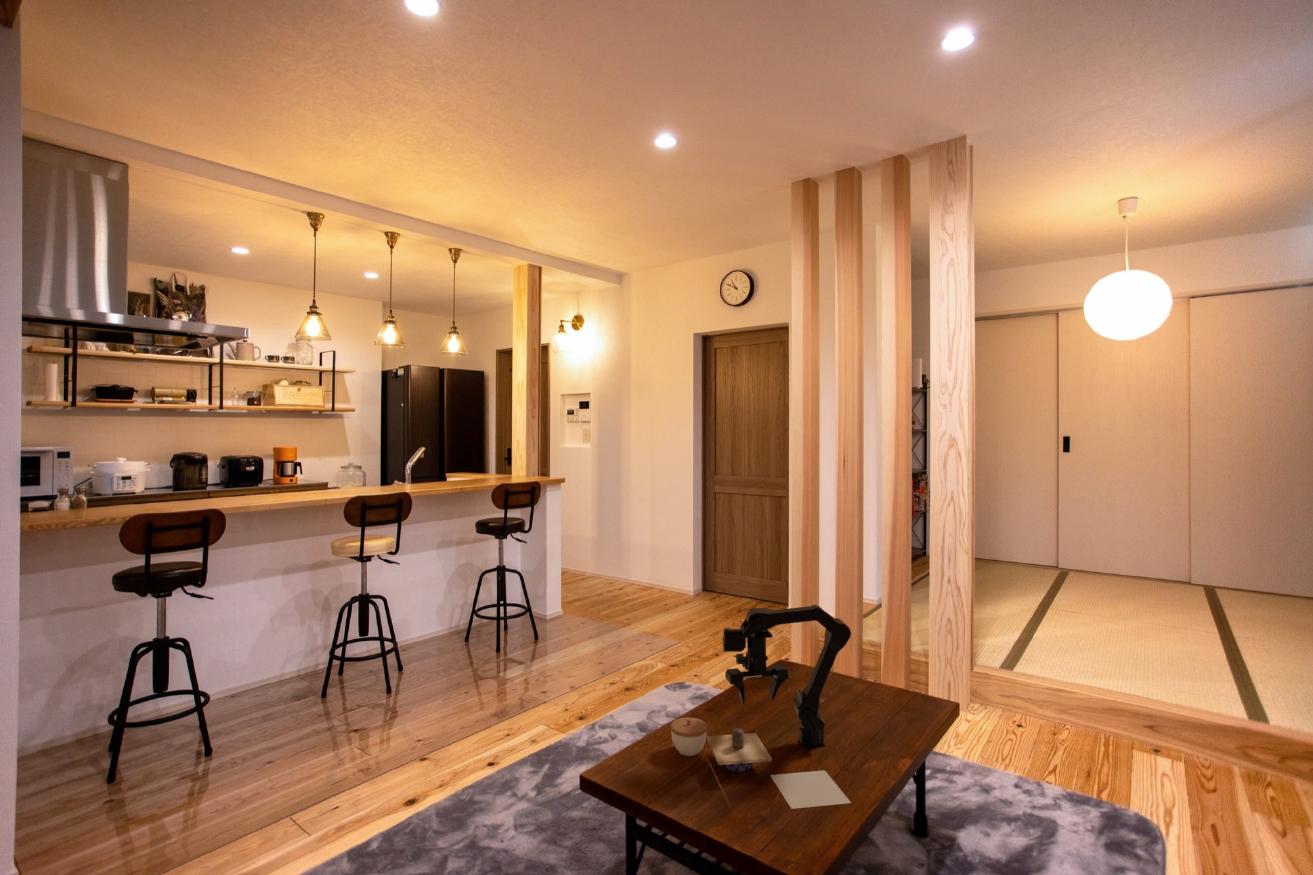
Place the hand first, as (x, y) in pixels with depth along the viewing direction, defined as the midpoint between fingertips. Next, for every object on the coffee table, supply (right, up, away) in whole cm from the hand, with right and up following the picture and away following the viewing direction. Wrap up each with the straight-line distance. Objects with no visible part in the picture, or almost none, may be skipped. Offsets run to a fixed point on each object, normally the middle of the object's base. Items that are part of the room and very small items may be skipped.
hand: (757, 702), depth 195 cm
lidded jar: (-21, -13, -4) cm, 25 cm away
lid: (-8, -8, -13) cm, 17 cm away
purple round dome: (-8, -14, -13) cm, 20 cm away
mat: (+10, -13, -26) cm, 30 cm away
